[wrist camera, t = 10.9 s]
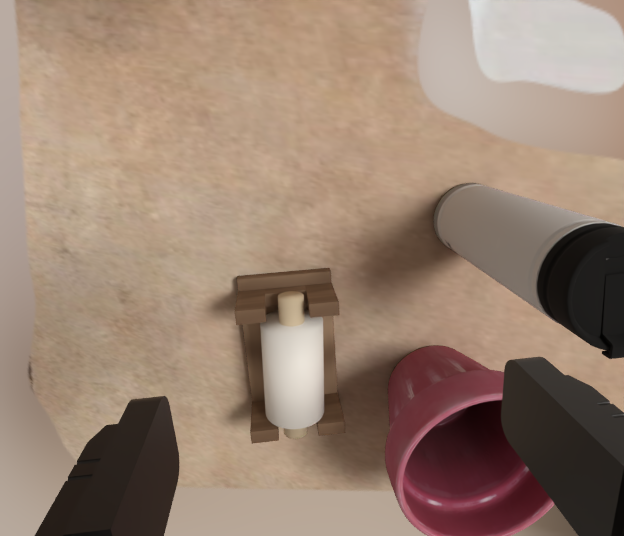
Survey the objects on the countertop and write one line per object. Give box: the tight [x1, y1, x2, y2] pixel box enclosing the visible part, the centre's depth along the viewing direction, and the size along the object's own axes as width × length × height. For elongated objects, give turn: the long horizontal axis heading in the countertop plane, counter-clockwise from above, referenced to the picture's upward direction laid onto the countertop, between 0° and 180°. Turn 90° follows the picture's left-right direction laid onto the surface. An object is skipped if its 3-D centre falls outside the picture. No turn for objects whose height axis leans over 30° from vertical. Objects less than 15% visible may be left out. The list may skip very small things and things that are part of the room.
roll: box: [260, 291, 324, 439], centre depth 40 cm, size 14×5×5 cm
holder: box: [235, 268, 345, 443], centre depth 41 cm, size 15×8×6 cm, turn 4°
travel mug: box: [434, 183, 624, 359], centre depth 32 cm, size 6×7×20 cm
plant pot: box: [385, 346, 554, 536], centre depth 40 cm, size 14×14×13 cm
